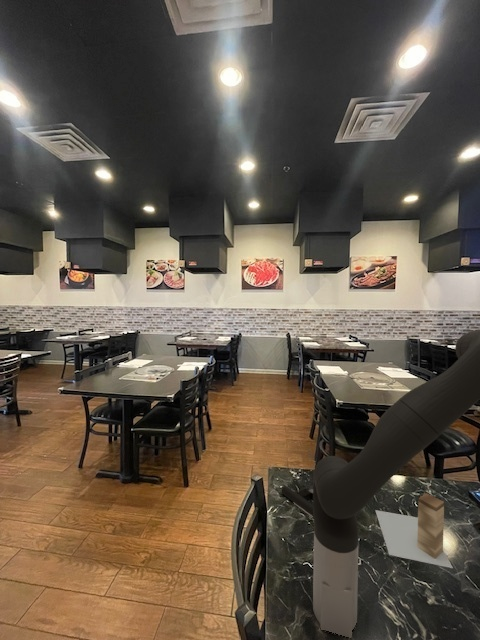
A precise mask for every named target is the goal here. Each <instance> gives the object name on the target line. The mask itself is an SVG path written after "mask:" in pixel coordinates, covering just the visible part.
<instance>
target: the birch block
mask: <svg viewBox="0 0 480 640" xmlns="http://www.w3.org/2000/svg"><path fill="white" fill-rule="evenodd" d="M417 500H418V501H417V502H418V505H417V506H418V508H417V517H418V539H417V547H418V548H419V549H421V550H422V551H424V552H425V553H427V554H428V555H430V556H431V557H433V558H434V559H436V558H437V557H438V556H439V555H440V554H441V553H442V552H443V551H444V524H445V523H444V521H445V520H444V519H445V501H444V500H441V499H439V498H437V497H435V496H433V495H431V494H429V493H424V494H423V495H421V496H420V497H418V499H417Z"/></svg>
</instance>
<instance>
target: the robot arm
mask: <svg viewBox="0 0 480 640" xmlns="http://www.w3.org/2000/svg"><path fill="white" fill-rule="evenodd" d="M454 352H455V355H456V357H457V360H456V361H455V362H454V363H453V364H452V365H451V366H450V367H449V368H447V369H446V370H445V371H443V372H442V373H440V374H438V376H435V377H434V378H431V379H429V380H428V381H426V382H424V383H422V384H420V385H418V386H416V387H415V388H413V389H411V390H410V391H408V392H407V393H405V394H403V396H401V397H400V398H399V399H398V400H396V402H394V403H393V404H392V405H391V406H390V407H388V409H386V410H385V412H383V414H382V415H380V418H379V419H378V420H377V422H376V424H375V426H374V428H373V430H372V432H371V434H370V437H369V438H368V440H367V442H366V444H365V445H364V447H362V450H361V451H360V452H359V453H358V454H357V455H356V456H355V457H354V458H353V459H352V460H350V461H349V462H348V461H346V459H344V458H342V457H339V456H337V455H327V456H324V457H322V458H321V459H320V460H319V461H318V462H317V463H316V465H315V467H314V469H313V473H312V474H313V475H312V476H313V477H312V488H313V500H312V504H313V515H314V517H313V525H314V526H313V575H312V576H313V579H312V584H313V585H312V590H313V591H312V592H313V593H312V594H313V595H312V609H313V613H314V616H315V618H316V620H317V621H318V624H319V626H320V627H319V629H320V628H321V629H320V630H321V631H322V630H326V631H329V632H332V633H331V634H333V633H334V634H333V635H336V634H338V635H337V636H340V635H342V636H341V637H343V636H345V637H344V638H346V637H352V638H353V632H352V630H353V629H354V627H355V625H356V623H358V589H359V588H358V587H359V586H358V582H359V580H358V578H359V576H358V575H359V570H358V569H359V526H358V525H359V524H358V522H357V521H358V520H357V514H358V513H360V512H361V511H362V510H363V509H364V508H365V507H366V506H367V505H368V503H370V501H371V500H372V499H373V498H374V497H375V495H377V493H378V492H379V491H380V490H381V489H382V488H383V487H384V485H385V484H386V483H387V482H388V481H389V480H390V479H391V478H393V476H395V475H396V474H397V473H398V472H399V471H400V470H402V468H404V467H405V466H406V465H407V464H408V463H409V462H411V460H412V459H414V458H415V457H416V456H417V455H419V453H421V452H422V451H424V450H425V449H426V448H427V447H429V446H430V445H431V444H432V443H433V442H435V440H436V439H437V438H439V436H441V435H442V434H443V433H444V432H445V431H446V430H448V428H449V427H451V426H452V425H453V424H454V423H456V422H457V420H459V419H460V418H461V417H462V416H463V415H465V414H466V412H468V411H469V410H470V409H471V408H472V407H473V406H474V405H475V404H476V403H478V401H480V329H476V330H472V331H468V332H466V333H464V334H462V335H461V336H460V337H459V338H458V340H457V341H456V343H455V351H454ZM472 526H473V528H474V529H475V531H476V532H477V533H478V534H479V535H480V520H478V521H477V520H476V521H475V522H474V523H473V524H472ZM356 626H357V625H356ZM355 628H356V627H355ZM354 630H355V629H354ZM326 631H325V632H326ZM329 632H328V633H329ZM335 633H336V634H335Z"/></svg>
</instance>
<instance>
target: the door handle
mask: <svg viewBox="0 0 480 640" xmlns="http://www.w3.org/2000/svg"><path fill="white" fill-rule="evenodd" d="M281 494H282V495H284V497H286V498H287V499H289V500H290V501H291V502H292V504H293V503H294V504H293V505H295V506H296V507H297V508H299V509H300V510H302V511H303V512H304V513H306V514H307V515H308V516H310V517H311V518H313V519H314V515H313V502H310V500H311V501H313V487H311V489H309V490H308V489H307V488H303V489H301V490H300V491H297V492H296V491H294V490H293V489H292V488H290V487H288V486H286V485H284V486H283V487H282V488H281Z"/></svg>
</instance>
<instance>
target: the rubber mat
mask: <svg viewBox="0 0 480 640" xmlns="http://www.w3.org/2000/svg"><path fill="white" fill-rule="evenodd" d="M375 513H376V516H377V519H378V523H379V527H380V530H381V533H382V537H383V539H384V540H383V541H384V542H385V545H386V549H387V552H388V555H389V556H392V557H396V558H397V557H398V558H403V559H406V560H407V559H408V560H412V561H415V562H421V563H425V564H430V565H435V566H440V567H444V568H450V569H454V567H453V565H452V564H451V562H450V560H449V558H448V557H447V554H446V552H445V551H444V550H443V552H442V553H441V554H440V555H439V556H438V557H437V558H436V559H434V558H433V557H431V556H430V555H428V554H427V553H425V552H424V551H422V550H421V549H419V548H418V547H417V539H418V516H410V515H405V514H399V513H394V512H387V511H383V510H376V509H375Z"/></svg>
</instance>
